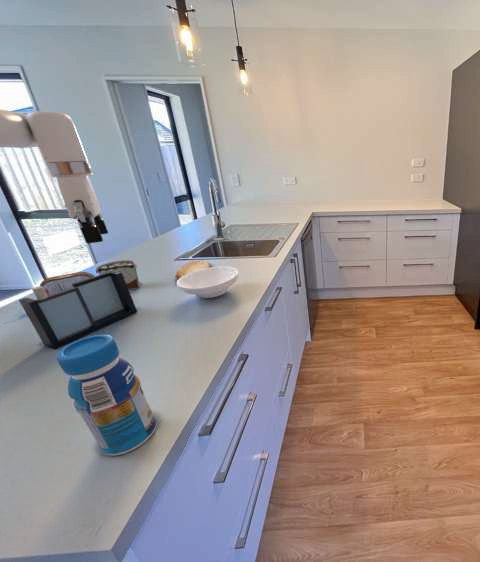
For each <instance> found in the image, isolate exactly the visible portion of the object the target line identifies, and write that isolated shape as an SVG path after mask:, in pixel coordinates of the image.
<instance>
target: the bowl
mask: <svg viewBox="0 0 480 562" xmlns="http://www.w3.org/2000/svg"><path fill="white" fill-rule="evenodd" d="M238 278H239V270H238V269H237V268H235V267H231V266H211V268H205V269H201V270H197V271H194V272H191V273H188V274H186V275H184V276H182V277H181V278H180V279H179V280H176V286H177V287H178V288H179V289H180V290H181V291H182V292H184V293H185V294H189V295H195V296H196V297H198V298H200V299H213V298H218V297H219V296H222V295H224V294H225V293H227V292H228V290H229V288H230V287H231V286H233V285H234V284H235V283H236V282H237V280H238Z"/></svg>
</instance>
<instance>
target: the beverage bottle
mask: <svg viewBox="0 0 480 562" xmlns="http://www.w3.org/2000/svg"><path fill="white" fill-rule="evenodd" d="M56 360H57V363H58V364H59V366H60V368H61V370H62V372H63V373H64V374H65V375H66V376H68V377H69V379H68V383H67V384H68V385H67V394H68V397H69V398H70V399H72V400H74V401H73V406H74V408H75V411H76V412H77V413H78V414H79V415H80V417H81V418H82V420H83V422H84V423H85V425H86V426H87V428H88V430H89V432H90V433H91V435H92V436H93V438H94V440H95V441H96V444H97V446H98V447H99V449H100V451H101V452H102V453H103V454H104V455H106V456H121V455H125V454H127V453H129V452H132V451H134V450H136V449H137V448H139V447H140V446H142V445H143V444H144V443H146V442H147V441H148V439H150V438H151V437H152V436H153V434H154V433H155V431H156V429H157V424H158V423H157V419H156V417H155V415H154V413H153V411H152V409H151V407H150V404H149V402H148V399H147V397H146V394H145V392H144V390H143V388H142V385H141V381H140V378H139V377H138V375H137V374H136V373H135V372H134V371H135V370H134V367H133V366H132V364H131V363H130V362H129V361H127V360H125V359H124V358H122V357H120V350H119V348H118V344H117V343H116V341H115V339H114V337H113V336H111V335H109V334H96V335H95V334H94V335H90V336H87V337H86V336H85V337H82V338H79V339H77V340H75V341H73V342H70V343H68V344H66V345H65V346H64V347H63V348H61V349H60V350H59V351H58V352H57V354H56Z"/></svg>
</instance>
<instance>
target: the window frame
mask: <svg viewBox="0 0 480 562" xmlns="http://www.w3.org/2000/svg"><path fill="white" fill-rule="evenodd" d="M94 276H95V277H92V278H88V279H85V280H82V281H79V282H76V283H73V284H72V286H73V287H78V288H79V290H80V292H81V294H82V297H83V299H84V301H85V303H86V305H87V307H88V309H89V311H90V314H91V316H92V318H93V320H94V322H95V324H94V325H91V326H88V327H86V328H84V329H81V330H79V331H77V332H74V333H72V334H70V335H68V336H65V337H63V338H61V339H57V337H56V335H55V333H54V331H53V330H52V328H51V326H50V324H49V322H48V320H47V319H46V317H45V315H44V313H43V311H42V309H41V308H40V306H39V304H38V302H37V301H36V300H37V299H33V298H30V297H23V298H20V299H18V301H19V303H20V305H21V307H22V308H23V311H24V312H25V314H26V315H27V318H28V319H29V321H30V322H31V325H32V326H33V327H34V329H35V331H36V334H37V335H38V337H39V338H40V340H41V342H42V344H43V345H44V347H47V348H49V349H52V350H57V349H59V348H62V347H63V346H64V347H65V346H67V345H69V344H71V343H73V342H75V341H77V340H80V339H82V338H85V337H86V336H88V335H91V334H92V333H94V332H97V331H99V330H101V329H103V328H106V327H108V326H110V325H112V324H114V323H117V322H119V321H122V320H123V319H125V318H128V317H130V316H132V315H135V314H136V313H138V310H137V307H136V305H135V303H134V300H133V298H132V294H131V293H130V290H128V287H127V285H126V282H125V280H124V277H123V275H122V272H117V271H112V270H111V271H108V272H106V273H104V274H101V275H99V274H97V275H94Z"/></svg>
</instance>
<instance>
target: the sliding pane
mask: <svg viewBox="0 0 480 562" xmlns="http://www.w3.org/2000/svg"><path fill="white" fill-rule="evenodd" d="M31 291H32V292H33V294H34V296H35V298H36V299H35V300H36V301H37V302H38V304H39V306H40V308H41V309H42V311H43V313H44V315H45V317H46V319H47V320H48V322H49V324H50V326H51V328H52V330H53V331H54V333H55V335H56V337H57V339H61V338H63V337H65V336H68V335H70V334H72V333H74V332H77V331H79V330H81V329H84V328H86V327H88V326H91V325H94V324H95V322H94V320H93V318H92V316H91V314H90V311H89V309H88V307H87V305H86V303H85V301H84V299H83V297H82V294H81V292H80V290H79V288H78V287H74V288H71V289H68V290H65V291H62V292H59V293H56V294H53V295H50V296H47V295H46V293H45V291H44V289H43V288H42V287H41V286H40V285H39V286H35V287H33V288H31Z"/></svg>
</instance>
